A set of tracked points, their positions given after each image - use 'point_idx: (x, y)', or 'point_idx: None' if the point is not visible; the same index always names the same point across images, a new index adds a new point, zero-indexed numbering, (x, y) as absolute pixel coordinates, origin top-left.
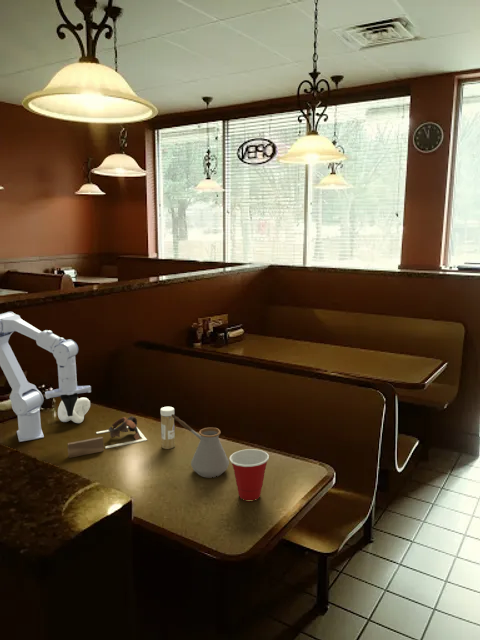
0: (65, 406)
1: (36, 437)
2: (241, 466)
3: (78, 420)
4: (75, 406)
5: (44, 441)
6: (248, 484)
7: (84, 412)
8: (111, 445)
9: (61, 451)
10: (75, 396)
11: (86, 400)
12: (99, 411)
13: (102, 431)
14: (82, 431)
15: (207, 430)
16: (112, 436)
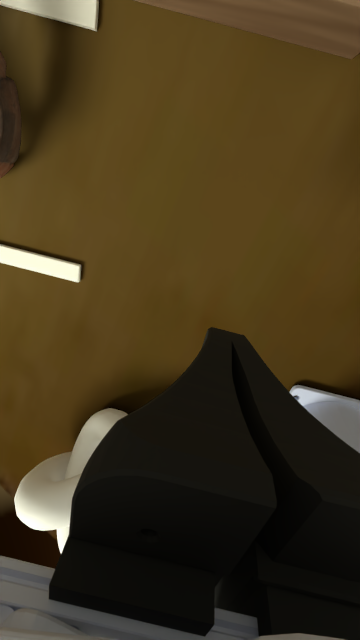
0: (304, 409)
1: (325, 396)
2: None
3: (113, 413)
4: None
5: (313, 351)
6: None
7: (67, 456)
8: (50, 9)
9: (330, 178)
10: (138, 495)
11: (25, 500)
12: (13, 447)
13: (48, 268)
14: (129, 336)
15: None
16: (5, 65)
